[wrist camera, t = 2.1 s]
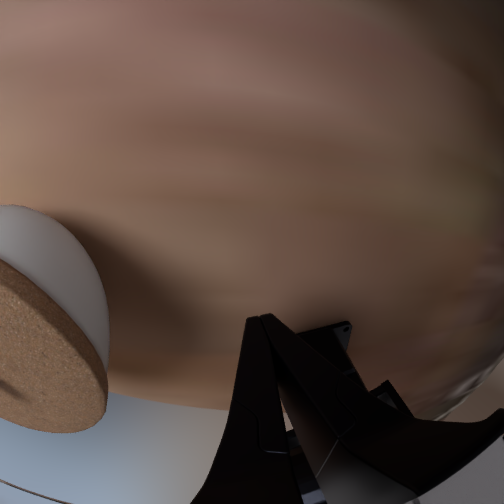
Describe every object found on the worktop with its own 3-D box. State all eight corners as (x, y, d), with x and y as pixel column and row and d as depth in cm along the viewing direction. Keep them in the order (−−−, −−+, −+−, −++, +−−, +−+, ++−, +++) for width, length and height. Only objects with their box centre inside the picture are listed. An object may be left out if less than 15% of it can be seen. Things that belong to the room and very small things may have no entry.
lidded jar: (104, 349, 18) (93, 476, 10) (-23, 296, 13) (-74, 401, 5) (153, 217, 14) (132, 384, 6) (-16, 147, 9) (-141, 232, 1)
